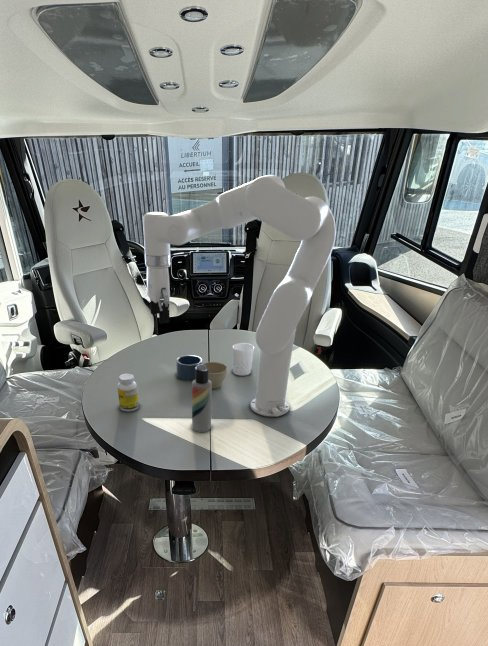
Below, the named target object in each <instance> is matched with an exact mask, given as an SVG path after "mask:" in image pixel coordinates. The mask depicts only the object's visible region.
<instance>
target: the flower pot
mask: <svg viewBox="0 0 488 646" xmlns="http://www.w3.org/2000/svg"><path fill="white" fill-rule="evenodd" d="M202 365H207V366H208V367H209V380H210V381H211V382H212V390H216V389H219V388H220V387H221V385H222V384H223V382H224V380H225V378H226V376H227V373H228V366H227V365H226V364H225V363H221V362H219V361H207V362H206V361H205V362H202Z"/></svg>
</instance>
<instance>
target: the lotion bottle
mask: <svg viewBox="0 0 488 646" xmlns="http://www.w3.org/2000/svg"><path fill="white" fill-rule="evenodd" d="M202 364H203V363H202ZM202 364H200V365H197V367H196V368H195V380H192V382H191V427H192V429H193V430H194V431H195V432H197V433H205V432H208V431H209V430H211V428H212V427H211V426H212V394H213V393H212V391H213V389H212V382H211V381H210V380H209V367H208V366H207V365H202Z"/></svg>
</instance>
